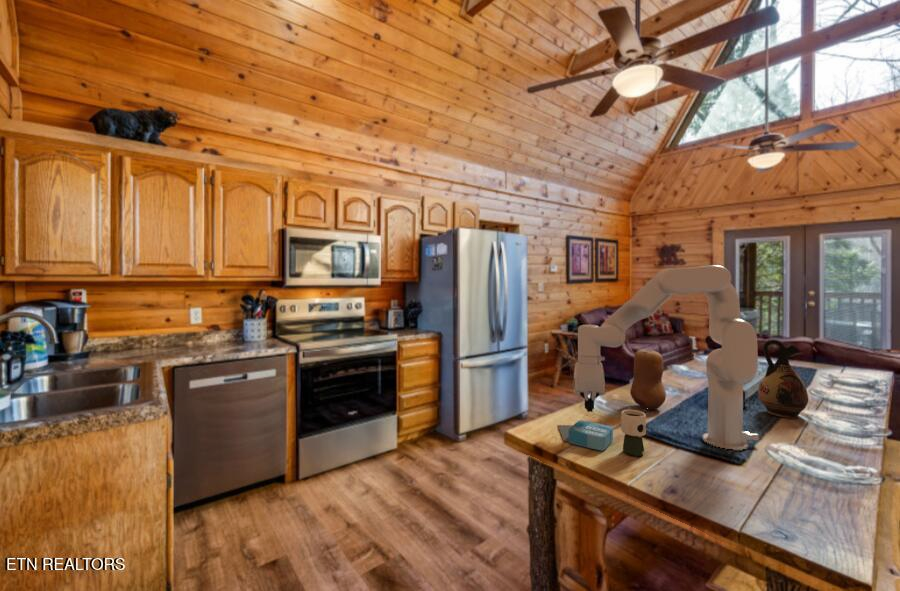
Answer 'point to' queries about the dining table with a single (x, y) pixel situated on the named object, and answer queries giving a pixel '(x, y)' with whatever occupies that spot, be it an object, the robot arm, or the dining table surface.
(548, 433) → the dining table surface
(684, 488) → the dining table surface
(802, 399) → the ceramic jug
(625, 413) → the character mug
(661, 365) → the butternut squash
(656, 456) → the dining table surface
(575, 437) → the data package
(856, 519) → the dining table surface
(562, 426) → the mat
